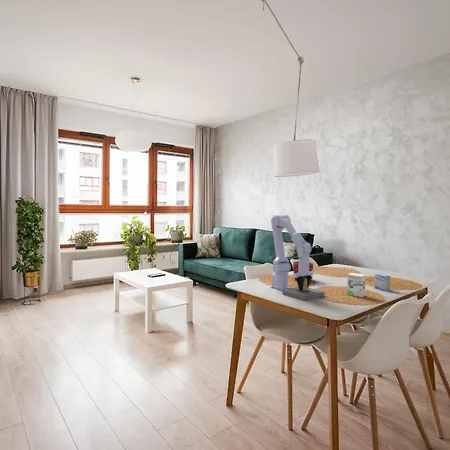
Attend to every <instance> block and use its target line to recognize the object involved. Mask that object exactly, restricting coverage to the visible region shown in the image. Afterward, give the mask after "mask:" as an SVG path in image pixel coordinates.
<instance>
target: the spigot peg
mask: <svg viewBox="0 0 450 450" xmlns="http://www.w3.org/2000/svg"><path fill="white" fill-rule="evenodd" d="M300 292H303V293H306V292H307V278H305V280H304V283H303V290H300Z"/></svg>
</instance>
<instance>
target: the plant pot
mask: <svg viewBox="0 0 450 450" xmlns="http://www.w3.org/2000/svg"><path fill="white" fill-rule="evenodd" d="M313 269H314V263H313V262H312V261H311V262H310V261H309V271H313ZM298 270H299V261H293V263H292V271H293V274H296V273H298ZM313 272H314V271H313ZM310 276H312V275H310ZM293 279H294V280H295V281H296V279H295V278H293Z"/></svg>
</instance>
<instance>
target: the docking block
mask: <svg viewBox="0 0 450 450" xmlns="http://www.w3.org/2000/svg"><path fill="white" fill-rule="evenodd" d="M282 295H284V296H287V297H290V298H294V299H297V300H301V301H305V302H306V301H310V300H314V299H317V298H322V297H325V291H323V290H319V289H315V288H311V287H308V289H307V292H306V293H303V292H300V290H299V287H298V286H295V287H292V288H289V289H284V290H282Z"/></svg>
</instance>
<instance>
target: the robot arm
mask: <svg viewBox="0 0 450 450" xmlns="http://www.w3.org/2000/svg"><path fill="white" fill-rule="evenodd" d="M270 222H271V229H272V236H273V243H274V250H275V252H274V253H275V259H274V260H273V261H272V270H273V273H272V275H271V286H270V288H272V287H273V289H278V290H280V291H283V290H285V289H290V288H291V287H290V286H288V279H289V277H288V276H289V274H290V272H291V269H292V268H291V264H290V260H289V259H288V258H287V257H286V255H285V247H284V239H283V238H284V237H283V234H282V233H283V231H284V230H286V231H287V232H288V233H289V235H290V236H291V237H290V239H291V241H292V243H293V244H294V246H295V247H296V248H295V249H296V252H297V253H296V254H297V257H298V262H299V270H298V273H296V274H294V273H293V275H292V277H293V279H294V278H295V279H296V280H295V279H294V280H295V281H296V284H297V287H299V290H303V283H304V280H305V278H307V289H308V288H310V287H309V286H310V283H311V281H312V279H313V276H314V274H315V272H314V271H309V262H310V254H311V252H312V250H313V248H312V245H311V243H309V242H307V241H306V240H305V239H304V238H303V235H302V234H301V233H300V232H298V231H296V229H295V227H294V225H293V224H292V219H291V218H290V216H289V215H288V214H284V215H283V214H282V215H276V214H275V215H273V216H272V218H271V220H270ZM310 275H311V276H310Z"/></svg>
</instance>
